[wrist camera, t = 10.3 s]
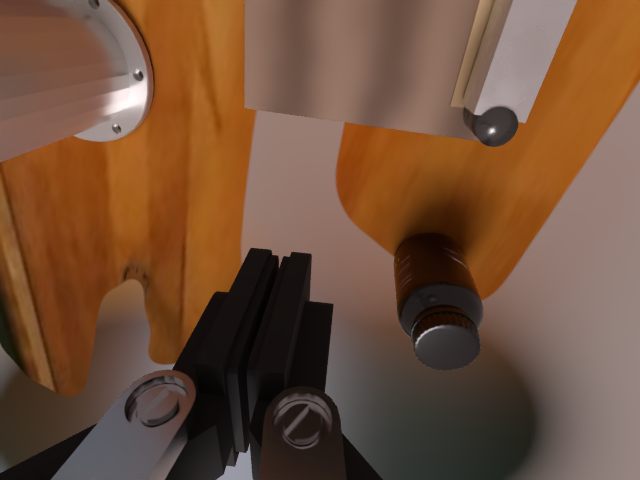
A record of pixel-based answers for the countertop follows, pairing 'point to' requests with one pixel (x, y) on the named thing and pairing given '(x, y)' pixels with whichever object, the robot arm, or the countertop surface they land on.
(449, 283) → the supplement bottle
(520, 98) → the stool leg
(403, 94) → the stool seat
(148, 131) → the countertop surface
